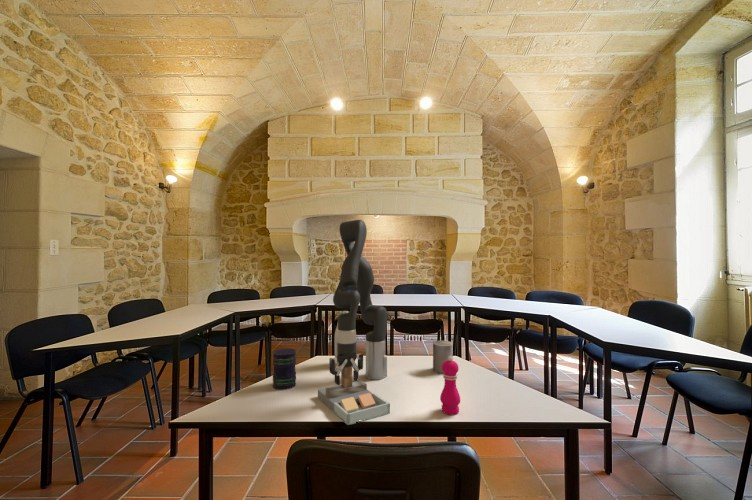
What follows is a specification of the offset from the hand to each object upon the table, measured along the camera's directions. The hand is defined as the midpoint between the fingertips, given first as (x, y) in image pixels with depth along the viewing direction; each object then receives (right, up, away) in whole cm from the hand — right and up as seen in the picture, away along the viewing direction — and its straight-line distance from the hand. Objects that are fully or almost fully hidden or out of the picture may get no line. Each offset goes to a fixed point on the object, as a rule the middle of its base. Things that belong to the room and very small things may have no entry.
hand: (346, 382), depth 136 cm
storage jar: (-29, -7, +15) cm, 33 cm away
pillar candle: (+45, -8, +35) cm, 57 cm away
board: (-1, -7, +1) cm, 7 cm away
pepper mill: (+39, -7, -9) cm, 41 cm away
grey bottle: (-5, -8, +44) cm, 45 cm away
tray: (+6, -7, -11) cm, 14 cm away
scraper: (0, -4, 0) cm, 4 cm away
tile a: (+8, -5, -6) cm, 11 cm away
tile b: (+2, -5, -10) cm, 11 cm away
